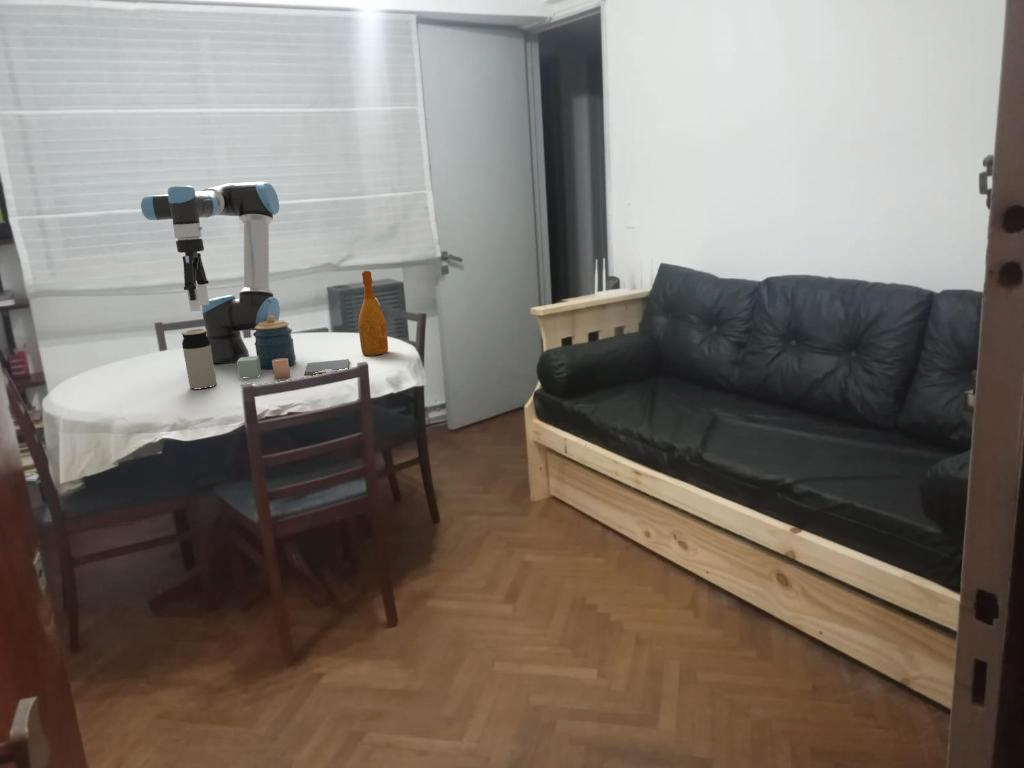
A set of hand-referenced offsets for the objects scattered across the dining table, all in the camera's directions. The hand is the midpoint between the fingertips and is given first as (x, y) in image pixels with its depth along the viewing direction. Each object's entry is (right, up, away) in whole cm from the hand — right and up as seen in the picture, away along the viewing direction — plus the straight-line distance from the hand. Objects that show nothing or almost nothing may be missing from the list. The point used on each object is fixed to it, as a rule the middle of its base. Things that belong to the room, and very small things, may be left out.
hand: (200, 308), depth 225 cm
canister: (+15, -17, +29) cm, 37 cm away
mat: (+35, -18, +19) cm, 44 cm away
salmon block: (+22, -22, +10) cm, 33 cm away
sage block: (+10, -21, +15) cm, 28 cm away
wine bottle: (+47, -13, +38) cm, 62 cm away
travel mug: (-1, -25, +5) cm, 25 cm away
